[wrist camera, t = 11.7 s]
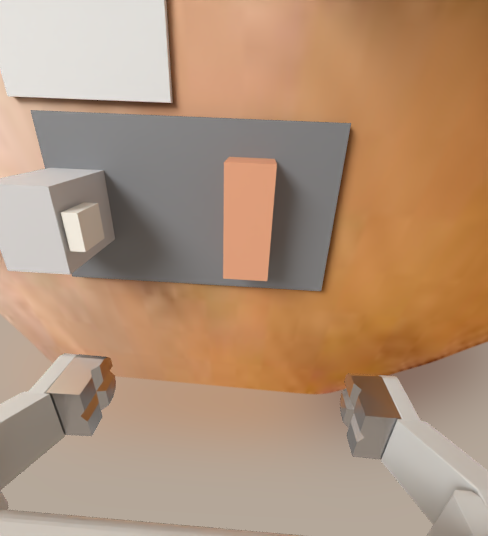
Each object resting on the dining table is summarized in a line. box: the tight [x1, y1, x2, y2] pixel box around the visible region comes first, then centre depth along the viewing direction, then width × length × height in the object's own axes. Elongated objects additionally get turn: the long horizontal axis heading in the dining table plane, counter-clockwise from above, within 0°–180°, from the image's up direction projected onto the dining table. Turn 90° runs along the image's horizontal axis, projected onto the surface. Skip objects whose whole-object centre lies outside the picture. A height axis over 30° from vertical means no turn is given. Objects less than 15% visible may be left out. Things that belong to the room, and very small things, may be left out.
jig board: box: [0, 110, 351, 291], centre depth 25 cm, size 16×27×9 cm, turn 88°
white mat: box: [0, 0, 173, 103], centre depth 22 cm, size 13×14×1 cm
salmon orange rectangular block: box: [223, 157, 277, 281], centre depth 26 cm, size 10×4×4 cm, turn 178°
